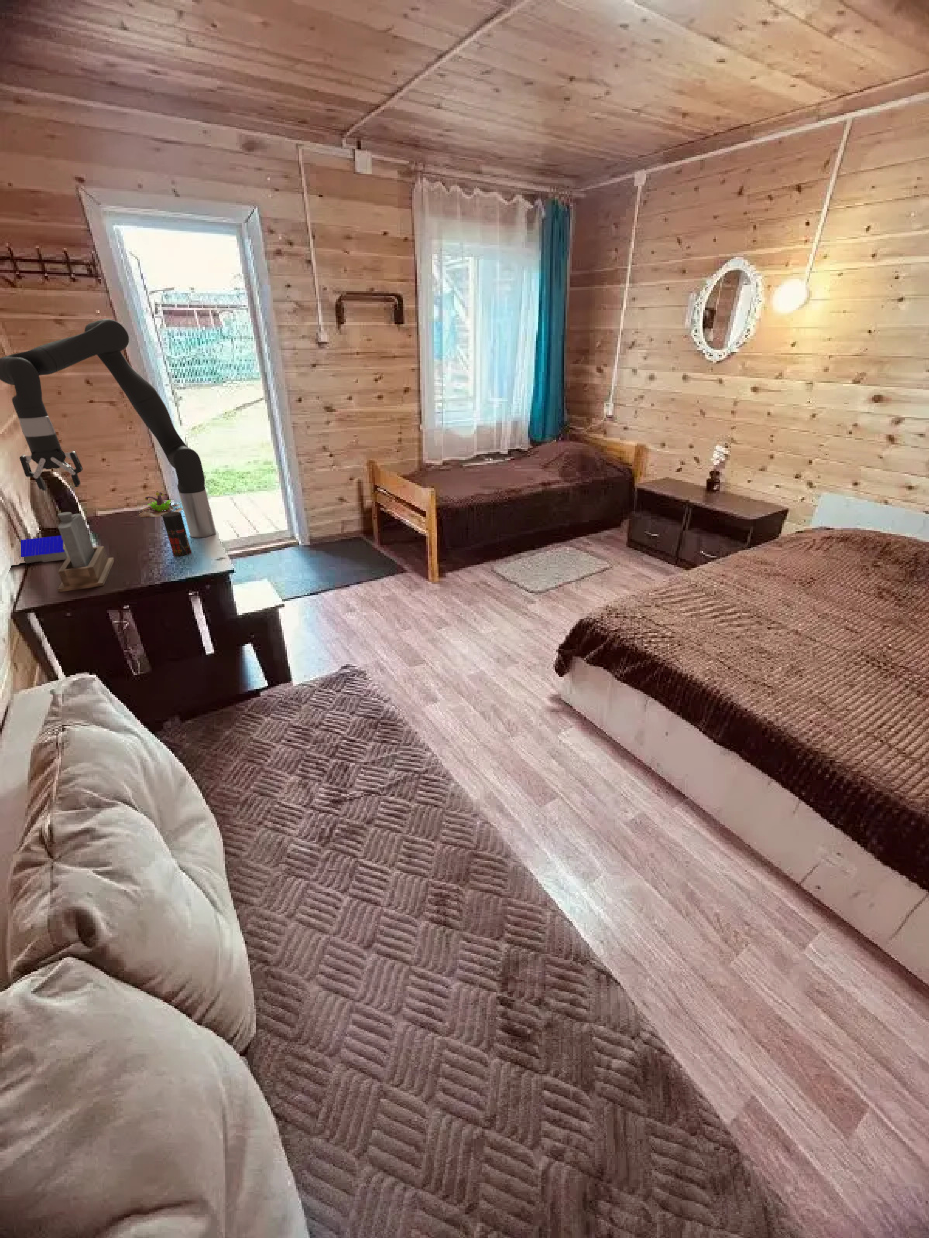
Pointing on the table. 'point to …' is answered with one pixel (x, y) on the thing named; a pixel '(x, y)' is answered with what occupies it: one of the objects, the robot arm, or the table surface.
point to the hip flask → (76, 539)
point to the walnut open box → (86, 572)
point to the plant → (158, 507)
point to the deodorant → (176, 534)
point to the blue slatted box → (43, 549)
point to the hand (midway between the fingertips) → (61, 488)
